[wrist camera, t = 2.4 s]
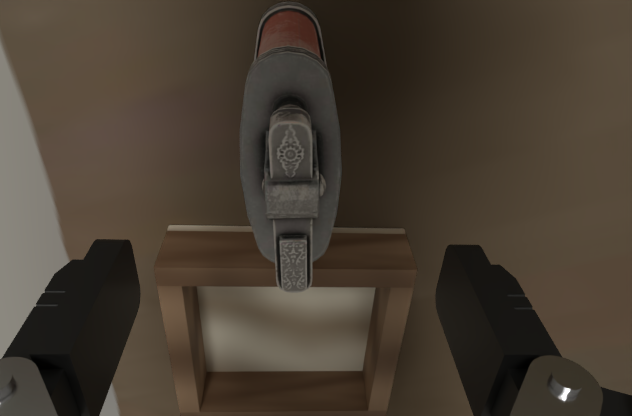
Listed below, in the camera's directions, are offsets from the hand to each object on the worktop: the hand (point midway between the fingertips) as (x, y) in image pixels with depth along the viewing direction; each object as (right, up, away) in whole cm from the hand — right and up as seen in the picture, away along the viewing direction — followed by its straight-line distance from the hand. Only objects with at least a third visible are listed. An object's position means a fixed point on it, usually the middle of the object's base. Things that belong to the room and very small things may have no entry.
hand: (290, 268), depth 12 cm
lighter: (-1, +7, +10) cm, 12 cm away
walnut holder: (-1, -5, +18) cm, 18 cm away
